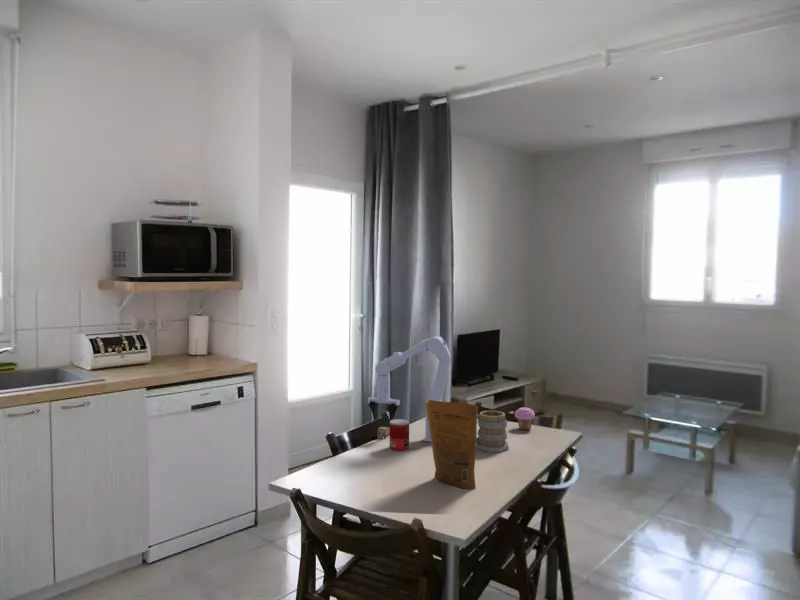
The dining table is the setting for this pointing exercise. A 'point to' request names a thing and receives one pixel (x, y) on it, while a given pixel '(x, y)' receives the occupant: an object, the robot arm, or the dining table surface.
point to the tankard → (492, 431)
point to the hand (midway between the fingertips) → (383, 420)
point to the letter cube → (383, 432)
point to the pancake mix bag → (453, 441)
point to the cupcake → (524, 418)
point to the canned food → (399, 434)
